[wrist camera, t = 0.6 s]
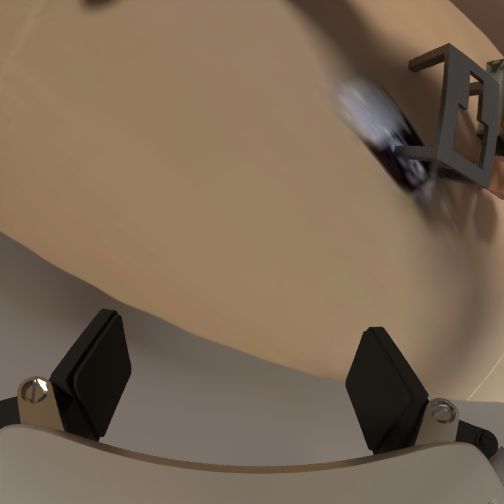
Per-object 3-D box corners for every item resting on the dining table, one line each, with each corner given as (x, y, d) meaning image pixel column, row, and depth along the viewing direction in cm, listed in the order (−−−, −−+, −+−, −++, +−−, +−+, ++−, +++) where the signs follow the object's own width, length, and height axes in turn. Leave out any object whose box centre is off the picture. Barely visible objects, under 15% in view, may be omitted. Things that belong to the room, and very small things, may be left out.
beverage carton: (507, 84, 29) (527, 82, 23) (495, 157, 35) (519, 161, 29) (485, 60, 28) (506, 56, 22) (474, 136, 34) (498, 137, 28)
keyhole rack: (409, 60, 30) (449, 43, 20) (457, 91, 31) (499, 84, 21) (393, 155, 36) (436, 158, 25) (443, 178, 37) (488, 189, 26)
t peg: (468, 157, 35) (508, 163, 26) (483, 167, 36) (522, 175, 26) (462, 183, 37) (502, 193, 27) (478, 192, 37) (516, 204, 28)
